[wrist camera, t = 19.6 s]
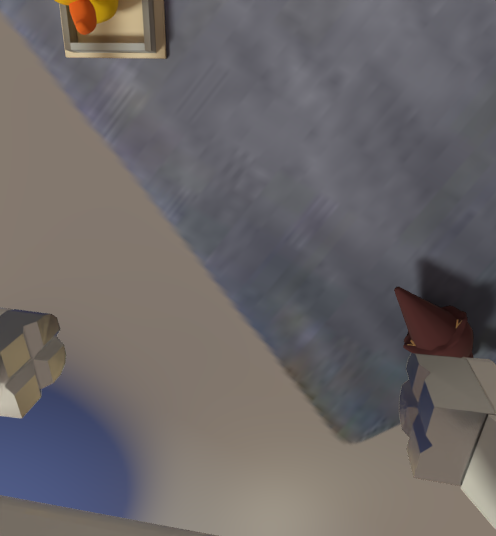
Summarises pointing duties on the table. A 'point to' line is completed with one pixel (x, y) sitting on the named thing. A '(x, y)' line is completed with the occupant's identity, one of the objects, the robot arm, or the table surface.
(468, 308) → the table surface
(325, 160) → the table surface
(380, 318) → the table surface
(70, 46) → the shallow wooden tray
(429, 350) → the gnome figurine
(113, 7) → the duckling
